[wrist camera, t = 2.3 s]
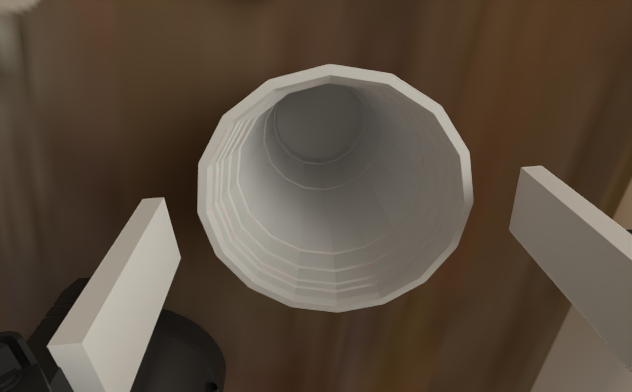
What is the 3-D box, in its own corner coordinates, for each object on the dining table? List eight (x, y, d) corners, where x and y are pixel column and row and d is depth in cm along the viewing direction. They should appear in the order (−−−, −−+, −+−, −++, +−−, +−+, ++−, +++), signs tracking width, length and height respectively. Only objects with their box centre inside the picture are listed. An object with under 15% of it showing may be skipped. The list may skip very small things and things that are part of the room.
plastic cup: (256, -3, 23) (232, 15, 12) (427, 63, 25) (531, 127, 14) (211, 167, 27) (166, 287, 17) (359, 209, 30) (400, 337, 19)
